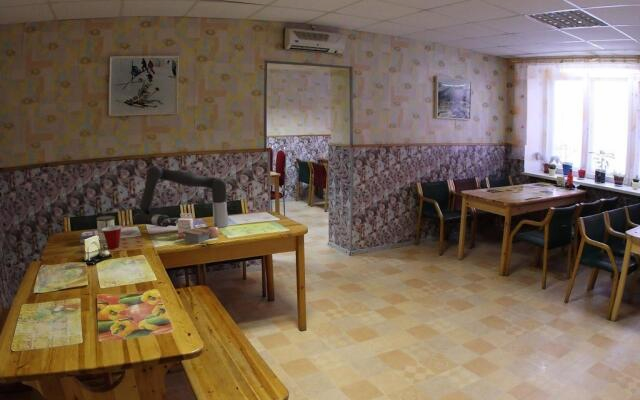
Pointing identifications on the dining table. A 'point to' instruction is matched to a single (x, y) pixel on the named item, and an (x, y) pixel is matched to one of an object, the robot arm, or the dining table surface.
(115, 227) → the plastic cup
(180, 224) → the ink cartridge box
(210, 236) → the pinkish brown round piece
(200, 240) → the display podium
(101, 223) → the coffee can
